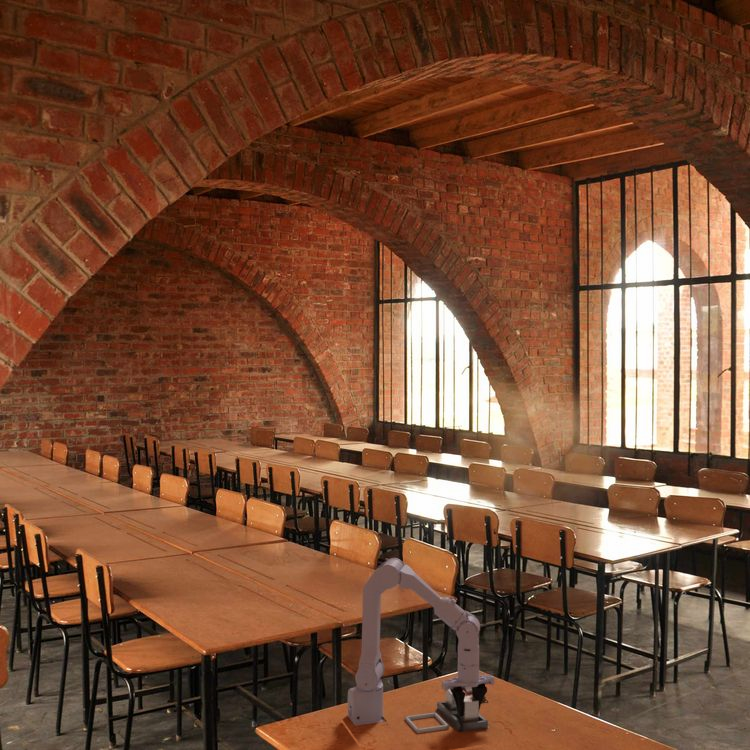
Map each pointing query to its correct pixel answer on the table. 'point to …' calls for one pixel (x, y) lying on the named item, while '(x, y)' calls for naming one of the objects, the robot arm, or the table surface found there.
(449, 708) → the seated billet
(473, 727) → the metal divided rack
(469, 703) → the loose billet
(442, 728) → the grey square tray
